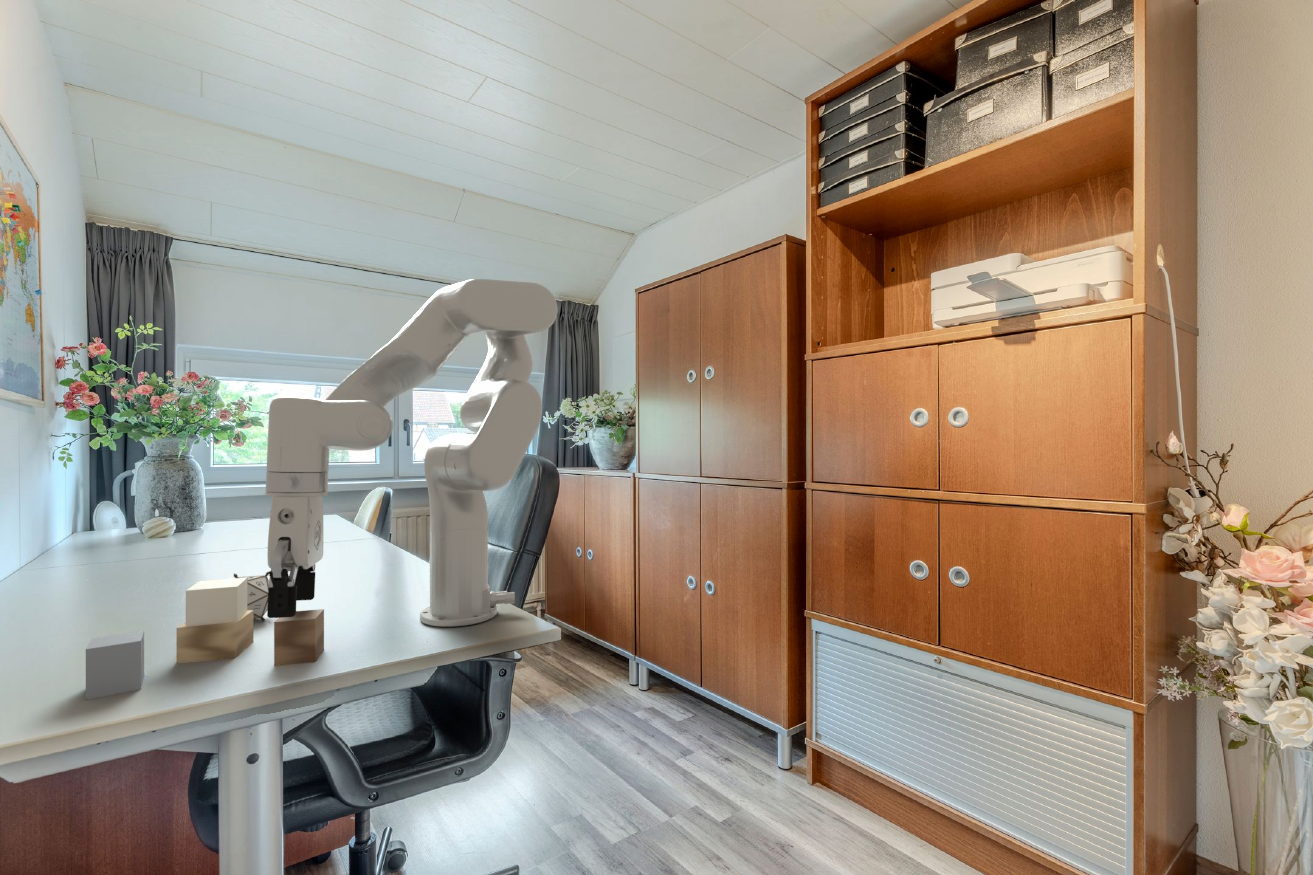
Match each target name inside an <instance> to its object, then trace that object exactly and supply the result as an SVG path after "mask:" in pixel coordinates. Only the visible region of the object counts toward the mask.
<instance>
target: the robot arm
mask: <svg viewBox="0 0 1313 875" xmlns="http://www.w3.org/2000/svg"><path fill="white" fill-rule="evenodd" d="M558 311H559V310H558V303H557V300H556V297H555V296H554V294H553V292H551V290H549V289H548V288H547V287H545V286H544V285H542V284H539V283H535V282H527V281H526V282H525V281H512V280H502V279H501V280H500V279H486V278H485V279H484V278H473V279H467V280H465V281H461V282H456V283H454V284H451V285H447V286H444V287H442V288H440V289H438V290H437V291H435V293H434V294H433V295H432V296H431V297H430V298H428V300H427V301H426V302H425V303H424V304H423V305H422V307H420V308H419V310H418V311H417V312H416V313H415V314H414V315H413V316H412V317H411V319H409V320H408V322H407V323H406V324H405V325H404V326H403V327H402V328H401V329H400V330H399V331H398V333H397V334H396V335H395V336H394V337H393V338H392V339H391V340H390V341H389V342H388V343H386V344H385V345H384V346H382V347H381V348H380V349H379V350H377V351H376V352H374V354H373V355H372V356H371V357H370V358H368V359H367V360H366V361H365V362H363V363H362V364H361V365H360V366H358V367H357V368H356V369H355V370H354V371H352V372H350V374H349V375H347V376H346V378H345V379H343V380H342V381H341V382H340V384H338V385H337V387H336V388H334V390H333V391H332V392H331V393H330V394H329V395H328V396H327V397H326V399H325V400H324V399H322V398H316V397H311V396H295V395H293V396H292V395H291V396H290V395H289V396H288V395H285V396H279V397H275V398H274V399H272V401H271V402H270V404H269V409H268V411H269V412H268V425H267V426H268V427H267V428H268V431H267V450H266V453H267V454H266V470H265V471H266V472H265V473H266V474H265V475H266V476H265V492H264V493H265V494H264V495H265V496H266V497H272V498H271V506H270V516H269V526H268V535H267V536H268V538H267V566H268V568H270V570H269V571H270V572H269V571H268V572H269V575H268V576H269V578H268V580H269V583H268V609H267V612H266V616H267V617H268V618H269V619H278V618H283V617H293V616H294V615H295V614H296V611H297V601H299V602H300V601H311V600H312V601H313V599H314V598H315V593H316V592H315V589H316V564H318V562H320V561H321V560H322V559H323V556H324V507H323V506H324V505H323V496H324V497H325V496H326V497H327V496H328V492H329V491H328V490H329V489H328V488H329V487H328V486H329V467H330V466H329V465H330V464H329V463H330V449H331V450H338V451H354V452H355V451H369V450H373V449H377V448H379V447H380V446H383V444H385V443H386V442H387V441H388V440H389V438H390V437H391V435H392V433H393V426H394V425H393V418H392V416H391V414H390V413H389V411H388V410H387V409H386V408H384V407H385V406H387V405H388V404H389V403H391V401H393V400H395V399H396V398H397V397H399V396H400V395H402V394H404V393H407V392H409V391H410V390H413V389H415V388H417V387H420V386H421V385H423V384H424V383H427V382H428V381H430V380H431V379H432V378H434V377H435V376H436V375H437V374H438V373H439V371H440V370H441V369H442V368H443V366H444V365H446V363H447V361H448V360H450V357H452V355H453V354H454V353H455V352H456V351H457V349H458V348H459V347H460V346H461V345H462V344H463V343H464V341H465V340H466V339H467V338H468V336H470V335H471V334H474V333H481V332H484V335H485V338H486V342H487V347H488V349H487V350H488V351H487V355H486V357H485V358H486V359H485V361H484V363H483V364H482V367H481V368H480V370H479V372H478V374H477V375H476V378H475V379H474V381H473V383H472V384H471V386H470V388H469V389H468V392H467V393H466V394H465V397H464V398H463V400H462V402H461V405H460V410H459V412H460V413H459V415H460V419H461V422H462V424H463V425H464V427H465V428H466V429H467V430H469V431H471V432H454V433H453V432H452V433H448V434H444V435H442V436H440V437H438V438H436V439H435V440H434V441H433V442H432V443H431V444H430V445H429V446H428V448H427V450H426V453H425V457H424V462H423V467H424V476H425V481H426V487H427V491H428V492H427V493H428V498H429V499H428V500H429V502H428V503H429V606H428V607H425V608H424V609H423V610H421V612H420V613H419V620H420V622H421V623H423V624H425V625H427V626H433V627H441V628H442V627H445V628H446V627H447V628H448V627H449V628H450V627H464V626H469V625H475V624H480V623H483V622H486V621H488V620H490V619H493V618H495V616H496V615H497V614H498V606H497V605H501V604H502V605H503V604H504V605H509V604H515V602H516V595H515V594H516V593H515V591H512V592H511V591H510V592H508V591H507V590H501V591H494V590H491V588H490V584H488V583H489V582H488V581H489V577H488V576H489V567H488V566H489V561H488V560H489V556H488V555H489V554H488V553H489V551H488V549H489V548H488V546H489V544H488V543H489V542H488V540H489V538H488V536H489V534H488V533H489V531H488V527H489V526H488V525H489V522H488V521H489V517H488V516H489V515H488V513H489V512H488V506H487V501H486V497H485V494H484V491H485V492H493V491H496V490H500V489H501V488H503V487H505V486H506V485H507V484H508V483H510V481H511V480H512V479H513V477H514V476H515V474H516V473H517V471H518V470H519V467H520V465H521V463H522V461H523V460H524V457H525V456H526V453H527V451H528V449H529V447H530V446H531V444H532V441H533V439H534V437H535V435H536V433H537V431H538V428H539V427H540V425H541V424H540V423H541V420H542V416H543V403H542V398H541V395H540V393H539V392H538V390H537V388H536V387H535V386H534V385H532V384H531V383H530V382H529V380H530V378H531V374H532V370H533V358H532V354H531V352H530V349H529V345H528V342H527V340H526V337H525V335H530V334H535V333H540V332H541V333H542V332H544V331H547V330H548V329H549V328H551V326H552V325H554V323H555V321H556V319H557V316H558Z"/></svg>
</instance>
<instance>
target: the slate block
mask: <svg viewBox="0 0 1313 875" xmlns="http://www.w3.org/2000/svg"><path fill="white" fill-rule="evenodd" d="M144 679H145V630H138V631H132V632H126V633H120V634H119V633H118V634H114V635H113V634H112V635H105V636H98V637H92V638H91V639H90V641H89V643H88V645H87V646H86V648H85V701H86V700H92V699H96V698H97V699H98V698H103V697H107V696H112V695H119V694H123V693H128V692H129V693H130V692H134V691H139V690H142V688H143V683H144Z"/></svg>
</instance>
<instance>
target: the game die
mask: <svg viewBox="0 0 1313 875" xmlns="http://www.w3.org/2000/svg"><path fill="white" fill-rule="evenodd" d="M270 571H271V570H269V571H267V572H265V575H251V576H238V574H237V573H233V577H234V579H236V578H247V611H248V610H253V620H254V619H260V621H261V622H263V623H265V621H266V619H265V617H264V616H265V614H267V609H268V583H269V578H268V576H269V575H270V574H269V572H270Z"/></svg>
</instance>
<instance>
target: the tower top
mask: <svg viewBox="0 0 1313 875" xmlns="http://www.w3.org/2000/svg"><path fill="white" fill-rule="evenodd" d="M246 612H247V578H225V579H214V580H213V579H210V580H200V581H197V582H196V583H195V584H193V585H192V586H191V587H189V588H188V589H186V590H185V622H186V627H189V626H199V625H210V624H220V623H230V622H238V620H239V619H240V618H241V617H242V616H243V615H244V614H245V613H246Z"/></svg>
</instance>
